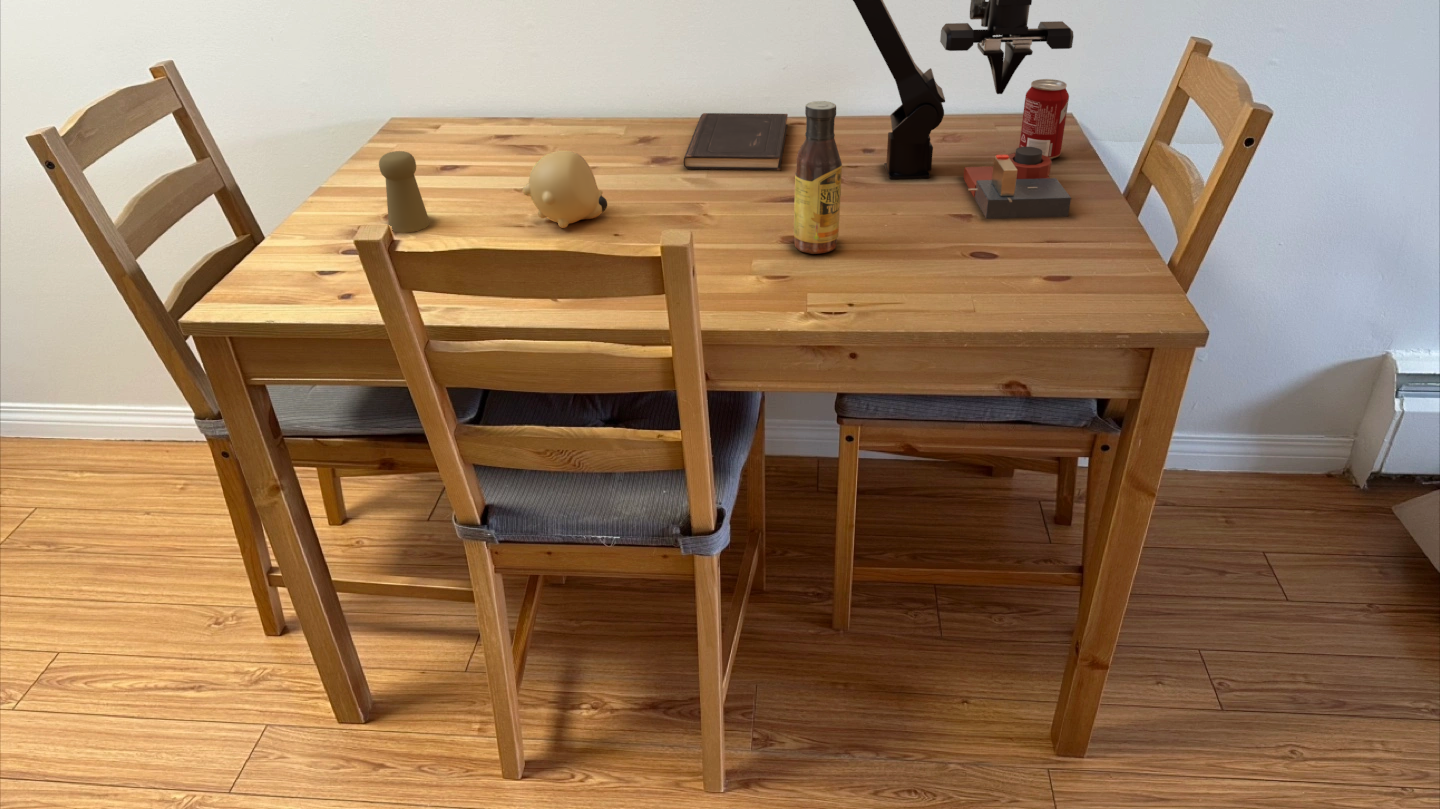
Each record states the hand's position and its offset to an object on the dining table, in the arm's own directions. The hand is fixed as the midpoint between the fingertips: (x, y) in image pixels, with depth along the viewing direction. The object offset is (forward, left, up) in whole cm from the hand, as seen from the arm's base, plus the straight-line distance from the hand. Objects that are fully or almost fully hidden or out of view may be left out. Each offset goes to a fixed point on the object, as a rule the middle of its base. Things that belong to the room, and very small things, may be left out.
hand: (999, 93), depth 163 cm
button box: (+1, -6, -13) cm, 14 cm away
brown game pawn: (-90, -15, -13) cm, 92 cm away
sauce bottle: (-30, -27, -13) cm, 42 cm away
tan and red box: (-2, -15, -10) cm, 18 cm away
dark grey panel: (0, -15, -13) cm, 20 cm away
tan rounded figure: (-66, -15, -13) cm, 69 cm away
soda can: (+10, +7, -13) cm, 18 cm away
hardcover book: (-40, +16, -13) cm, 45 cm away
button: (+4, -5, -9) cm, 11 cm away
